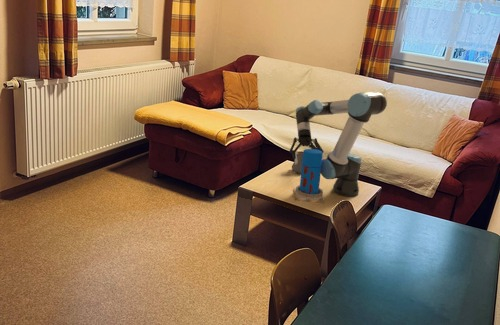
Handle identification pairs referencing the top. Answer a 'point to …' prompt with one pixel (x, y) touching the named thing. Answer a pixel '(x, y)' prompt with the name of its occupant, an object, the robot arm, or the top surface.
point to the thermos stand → (308, 196)
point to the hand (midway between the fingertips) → (307, 164)
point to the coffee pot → (298, 167)
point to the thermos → (311, 171)
